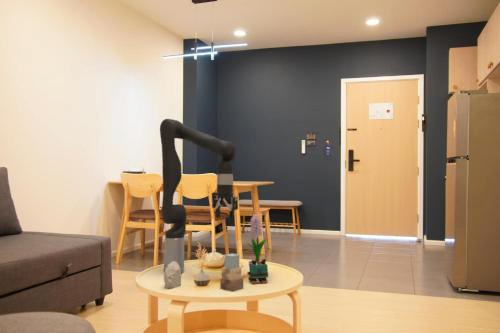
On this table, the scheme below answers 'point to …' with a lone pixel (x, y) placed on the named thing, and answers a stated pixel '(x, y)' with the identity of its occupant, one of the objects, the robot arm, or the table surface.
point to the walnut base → (231, 284)
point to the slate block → (231, 261)
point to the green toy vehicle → (258, 272)
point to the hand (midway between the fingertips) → (224, 218)
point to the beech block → (231, 273)
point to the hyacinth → (257, 248)
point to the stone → (172, 275)
